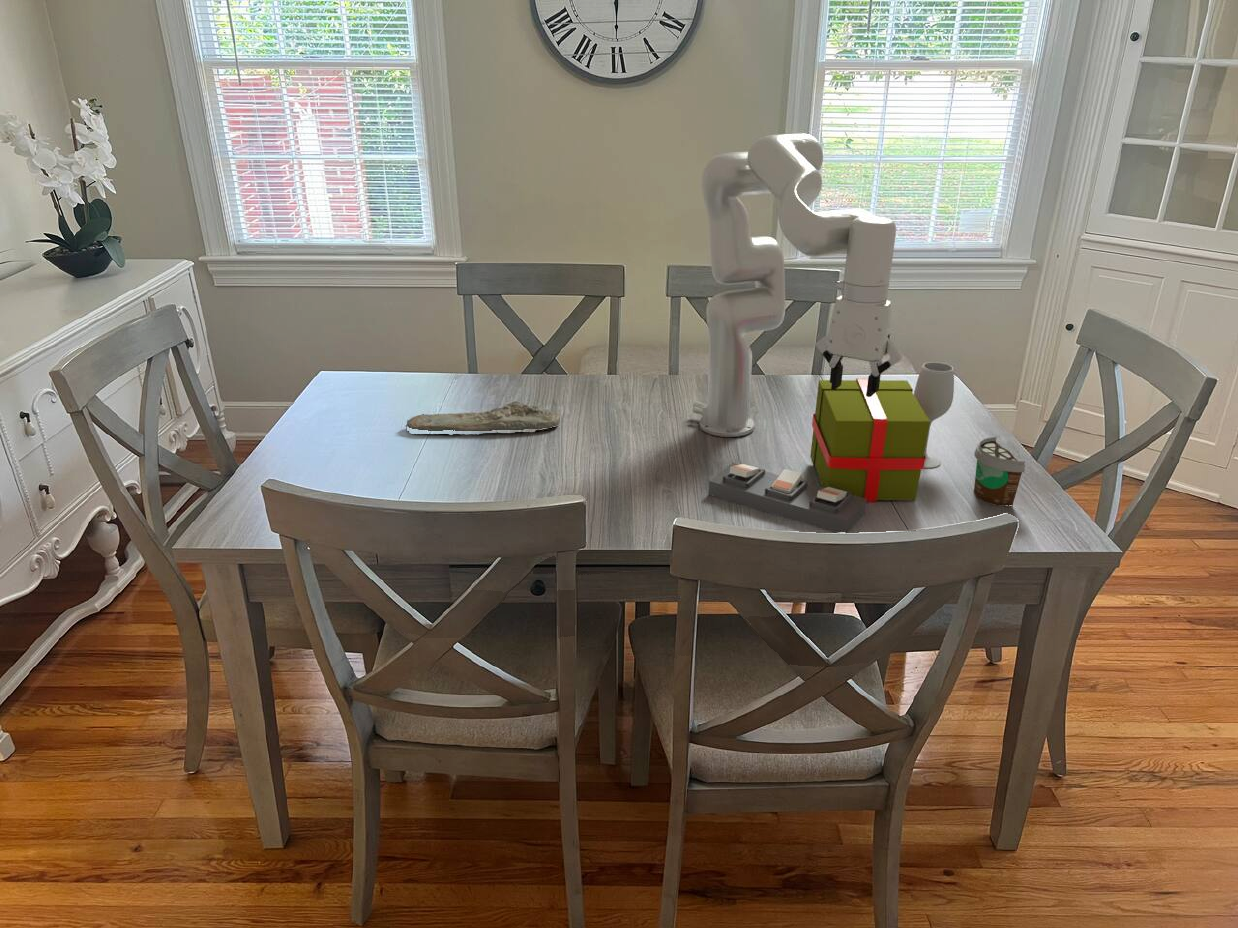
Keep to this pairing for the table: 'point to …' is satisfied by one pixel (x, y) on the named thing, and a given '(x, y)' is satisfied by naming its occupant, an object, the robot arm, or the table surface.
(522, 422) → the elongated rock
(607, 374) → the table surface
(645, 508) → the table surface
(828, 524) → the power strip
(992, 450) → the food container
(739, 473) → the rocker
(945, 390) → the wineglass
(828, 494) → the rocker
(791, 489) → the rocker
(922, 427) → the gift box
